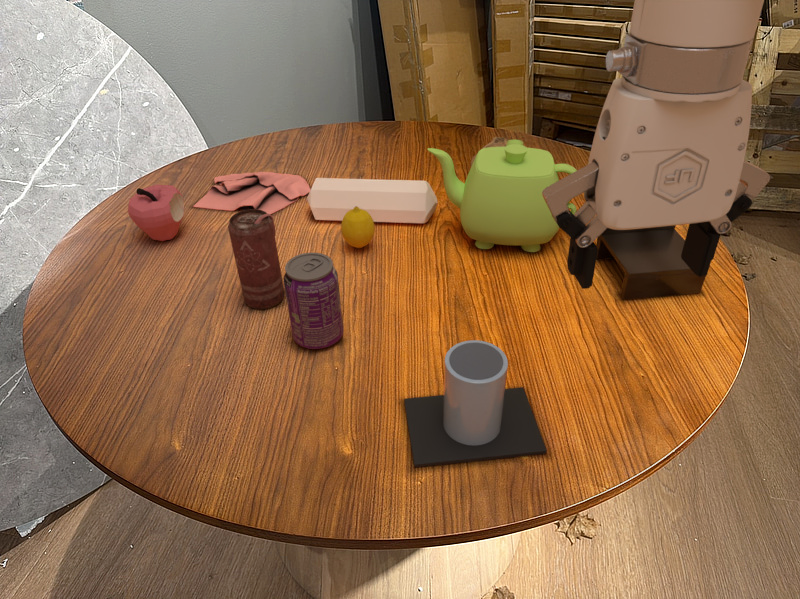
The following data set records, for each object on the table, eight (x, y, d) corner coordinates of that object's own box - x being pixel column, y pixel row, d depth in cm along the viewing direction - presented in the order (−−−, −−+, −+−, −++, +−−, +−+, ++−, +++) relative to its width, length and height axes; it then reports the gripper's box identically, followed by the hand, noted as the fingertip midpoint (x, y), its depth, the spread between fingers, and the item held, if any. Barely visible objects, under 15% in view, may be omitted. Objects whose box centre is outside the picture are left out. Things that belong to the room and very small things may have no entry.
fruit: (344, 258, 102) (340, 216, 97) (341, 241, 106) (337, 199, 102) (377, 255, 103) (375, 213, 98) (373, 238, 107) (371, 196, 102)
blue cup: (493, 399, 76) (499, 337, 69) (507, 442, 70) (515, 379, 64) (438, 404, 75) (440, 342, 69) (448, 448, 70) (450, 385, 64)
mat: (522, 390, 77) (523, 386, 77) (546, 454, 69) (547, 450, 69) (404, 401, 76) (404, 398, 76) (414, 468, 68) (414, 464, 68)
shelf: (664, 250, 102) (677, 202, 96) (700, 293, 92) (717, 243, 87) (593, 256, 101) (603, 208, 96) (622, 300, 91) (635, 250, 86)
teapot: (566, 199, 116) (579, 117, 107) (575, 263, 99) (591, 172, 90) (435, 193, 120) (436, 113, 110) (421, 253, 103) (421, 165, 93)
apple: (173, 253, 105) (158, 200, 99) (128, 247, 106) (110, 196, 100) (200, 224, 112) (187, 174, 106) (157, 220, 114) (142, 170, 108)
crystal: (439, 183, 114) (312, 179, 117) (437, 180, 107) (302, 177, 110) (437, 223, 115) (312, 219, 118) (436, 223, 108) (302, 219, 111)
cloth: (327, 192, 121) (325, 181, 119) (228, 233, 109) (225, 221, 108) (270, 160, 133) (268, 150, 132) (176, 194, 122) (173, 183, 120)
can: (293, 300, 93) (280, 219, 85) (254, 315, 91) (236, 234, 82) (276, 281, 97) (262, 202, 89) (238, 295, 95) (220, 215, 86)
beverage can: (316, 314, 91) (307, 244, 83) (354, 331, 87) (347, 260, 80) (282, 340, 86) (269, 269, 79) (321, 360, 83) (311, 288, 75)
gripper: (575, 91, 38) (548, 311, 48) (844, 68, 39) (762, 288, 49) (540, 57, 44) (523, 259, 54) (774, 38, 45) (713, 240, 55)
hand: (636, 273), depth 51 cm, fingers open, 9 cm apart
